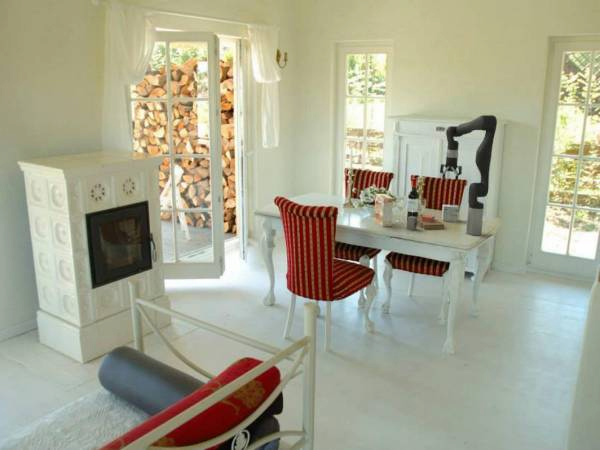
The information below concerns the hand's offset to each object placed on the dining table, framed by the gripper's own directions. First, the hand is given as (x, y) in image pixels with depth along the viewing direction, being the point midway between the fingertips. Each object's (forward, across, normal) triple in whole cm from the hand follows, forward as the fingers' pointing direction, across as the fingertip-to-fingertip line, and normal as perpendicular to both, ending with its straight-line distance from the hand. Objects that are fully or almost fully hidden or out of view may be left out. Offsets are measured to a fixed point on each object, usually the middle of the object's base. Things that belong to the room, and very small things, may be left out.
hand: (450, 180), depth 386 cm
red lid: (+27, -8, -13) cm, 31 cm away
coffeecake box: (+30, -34, -30) cm, 54 cm away
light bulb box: (+30, -1, +10) cm, 32 cm away
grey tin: (+30, -13, -30) cm, 44 cm away
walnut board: (+30, -8, -13) cm, 34 cm away
